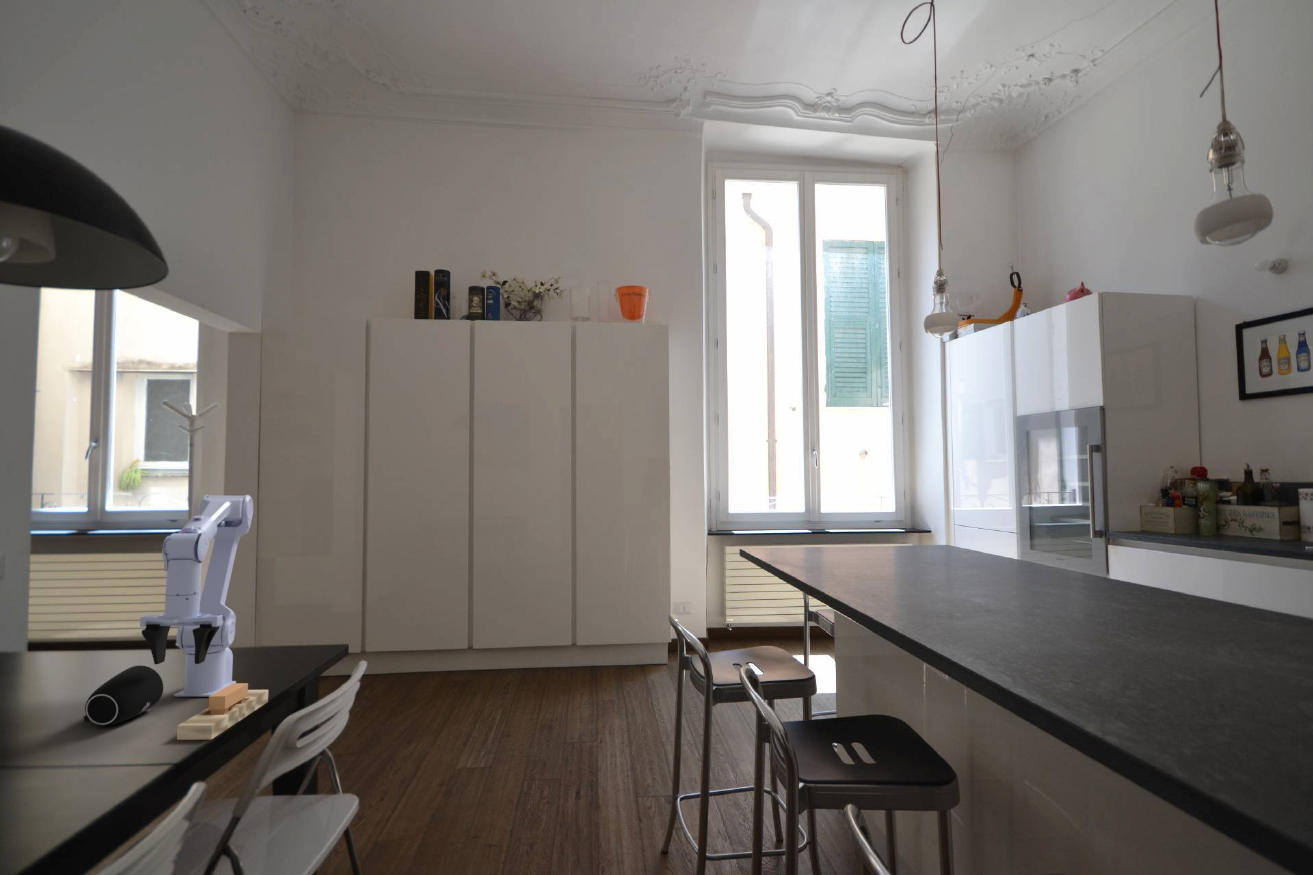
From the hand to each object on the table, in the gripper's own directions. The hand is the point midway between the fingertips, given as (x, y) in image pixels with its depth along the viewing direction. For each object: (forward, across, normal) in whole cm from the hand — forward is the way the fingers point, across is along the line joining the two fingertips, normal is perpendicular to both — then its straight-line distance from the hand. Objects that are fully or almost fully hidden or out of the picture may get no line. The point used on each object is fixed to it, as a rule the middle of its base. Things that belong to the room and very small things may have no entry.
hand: (179, 662), depth 135 cm
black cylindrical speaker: (+7, -10, -8) cm, 15 cm away
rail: (+10, +11, -3) cm, 15 cm away
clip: (+10, +11, -2) cm, 15 cm away
